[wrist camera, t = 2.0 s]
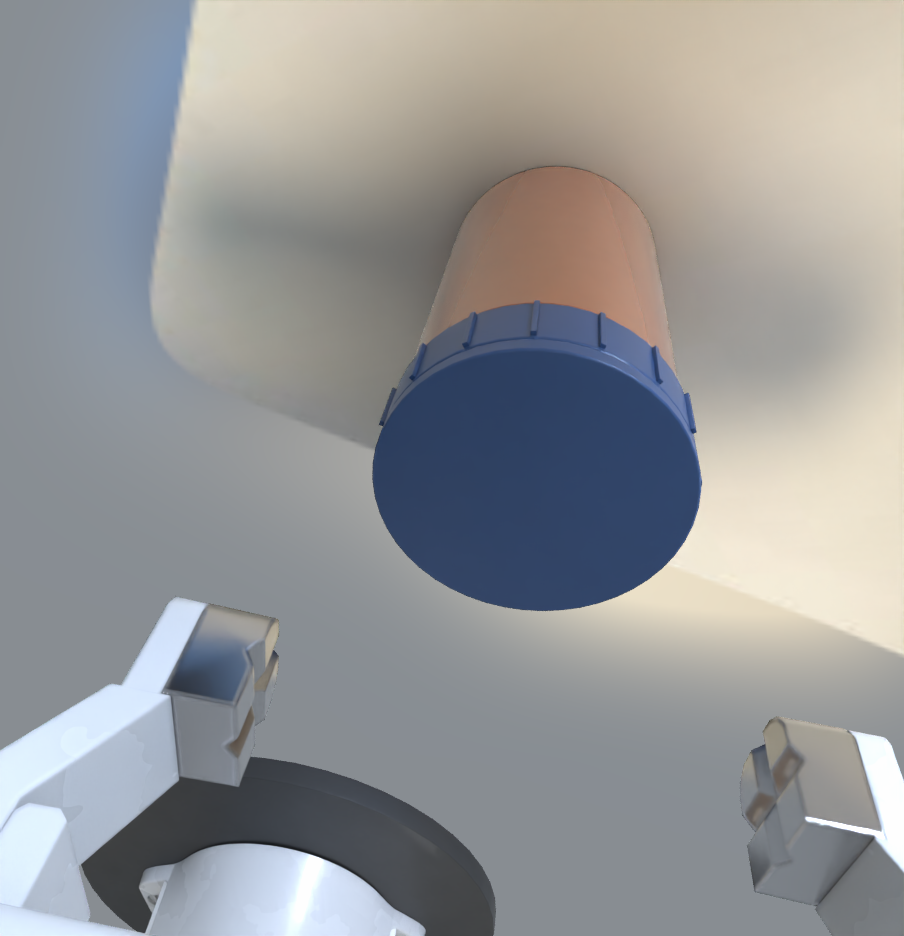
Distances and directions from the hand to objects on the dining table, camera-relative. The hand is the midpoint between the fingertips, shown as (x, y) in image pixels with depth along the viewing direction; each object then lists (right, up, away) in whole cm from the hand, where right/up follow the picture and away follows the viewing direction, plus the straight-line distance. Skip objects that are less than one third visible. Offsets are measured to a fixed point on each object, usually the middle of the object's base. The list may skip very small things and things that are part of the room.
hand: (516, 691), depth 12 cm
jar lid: (+1, +3, +4) cm, 5 cm away
